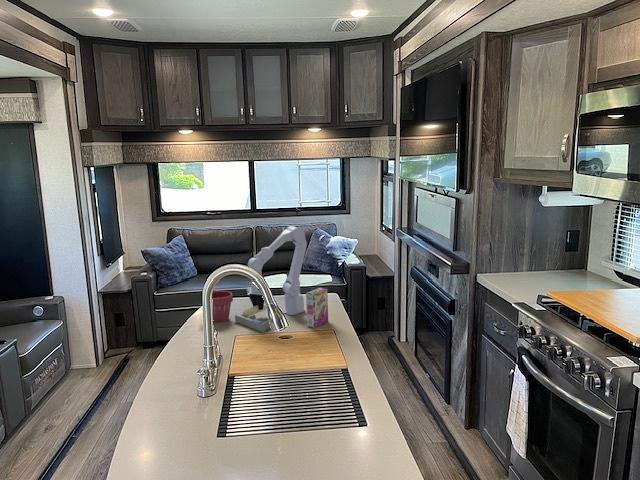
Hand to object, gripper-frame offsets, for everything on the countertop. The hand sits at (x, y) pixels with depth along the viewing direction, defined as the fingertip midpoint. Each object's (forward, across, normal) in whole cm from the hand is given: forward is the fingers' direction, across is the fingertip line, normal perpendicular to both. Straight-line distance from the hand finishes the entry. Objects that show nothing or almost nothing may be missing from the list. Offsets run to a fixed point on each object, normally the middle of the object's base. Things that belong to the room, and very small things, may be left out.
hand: (258, 308), depth 235 cm
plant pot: (+5, -15, -13) cm, 21 cm away
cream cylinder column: (+2, 0, -1) cm, 2 cm away
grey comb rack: (+5, +6, -8) cm, 11 cm away
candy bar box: (+5, +29, +13) cm, 32 cm away
